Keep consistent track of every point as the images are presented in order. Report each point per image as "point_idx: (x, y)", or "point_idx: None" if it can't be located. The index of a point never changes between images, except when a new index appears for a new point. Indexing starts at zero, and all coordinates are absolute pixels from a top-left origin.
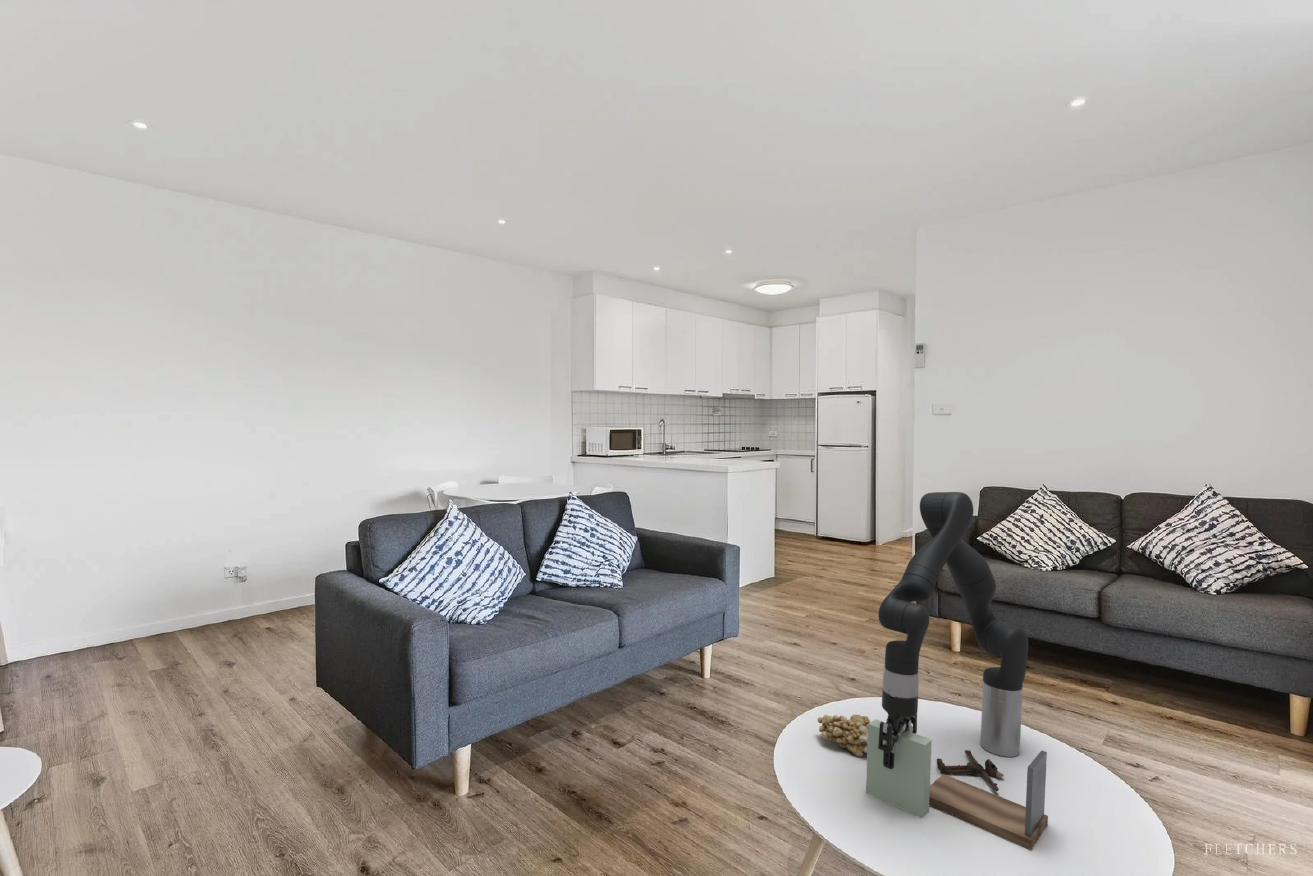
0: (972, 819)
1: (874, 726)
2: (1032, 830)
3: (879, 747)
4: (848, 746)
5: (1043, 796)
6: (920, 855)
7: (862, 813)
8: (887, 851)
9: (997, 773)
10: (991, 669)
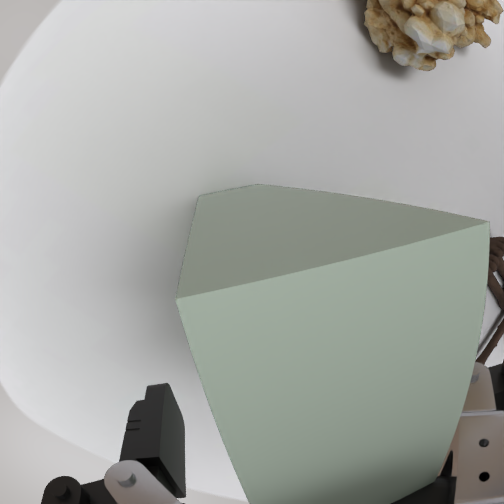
0: None
1: (219, 420)
2: None
3: (50, 496)
4: (368, 2)
5: None
6: (112, 443)
7: (87, 277)
8: (51, 402)
9: None
10: None
